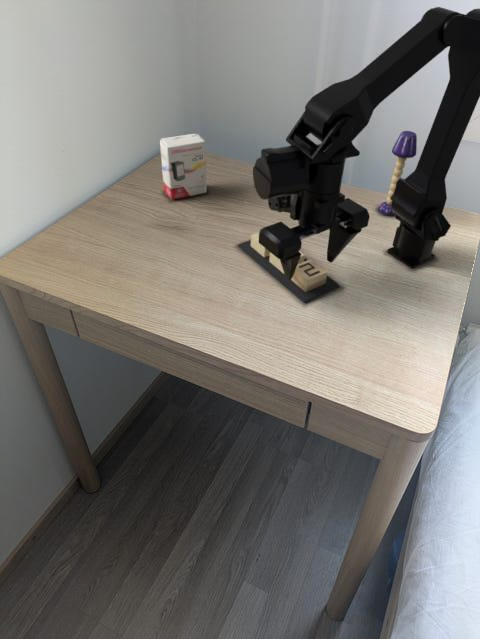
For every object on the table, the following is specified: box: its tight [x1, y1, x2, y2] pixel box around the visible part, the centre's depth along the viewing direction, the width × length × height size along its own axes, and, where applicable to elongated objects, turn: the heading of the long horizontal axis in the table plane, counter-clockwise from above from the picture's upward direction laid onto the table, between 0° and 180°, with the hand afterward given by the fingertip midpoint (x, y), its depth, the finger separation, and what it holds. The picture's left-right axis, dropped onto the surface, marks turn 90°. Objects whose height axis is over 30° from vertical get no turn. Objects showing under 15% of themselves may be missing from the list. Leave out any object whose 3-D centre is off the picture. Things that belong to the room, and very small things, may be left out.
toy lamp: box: [377, 130, 418, 217], centre depth 100 cm, size 5×5×17 cm
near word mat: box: [237, 231, 341, 304], centre depth 89 cm, size 20×8×3 cm, turn 34°
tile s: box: [291, 258, 328, 292], centre depth 85 cm, size 4×4×3 cm
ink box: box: [159, 133, 208, 200], centre depth 106 cm, size 9×5×12 cm, turn 116°
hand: (309, 269), depth 84 cm, fingers open, 9 cm apart
